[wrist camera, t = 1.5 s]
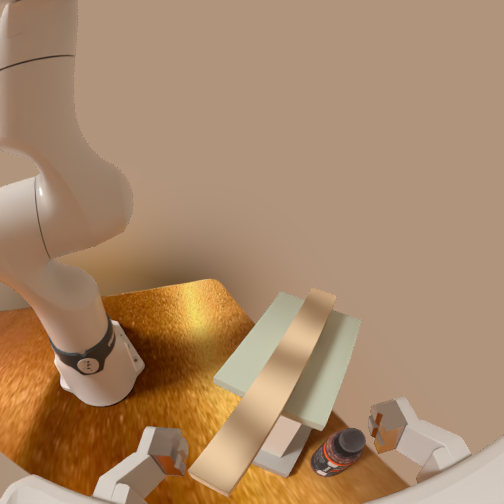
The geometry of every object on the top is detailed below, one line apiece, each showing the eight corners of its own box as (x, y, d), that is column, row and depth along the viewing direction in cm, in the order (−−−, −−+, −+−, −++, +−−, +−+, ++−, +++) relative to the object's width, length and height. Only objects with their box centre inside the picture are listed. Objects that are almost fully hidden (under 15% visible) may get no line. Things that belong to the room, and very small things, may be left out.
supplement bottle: (322, 483, 31) (348, 466, 25) (302, 458, 35) (322, 435, 30) (350, 465, 34) (379, 442, 28) (331, 442, 38) (355, 414, 32)
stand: (280, 487, 31) (336, 430, 17) (212, 456, 35) (203, 371, 22) (313, 423, 42) (369, 323, 28) (253, 398, 46) (273, 288, 33)
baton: (228, 497, 12) (228, 492, 11) (191, 477, 14) (188, 470, 12) (331, 312, 30) (336, 295, 28) (308, 304, 31) (312, 287, 29)
